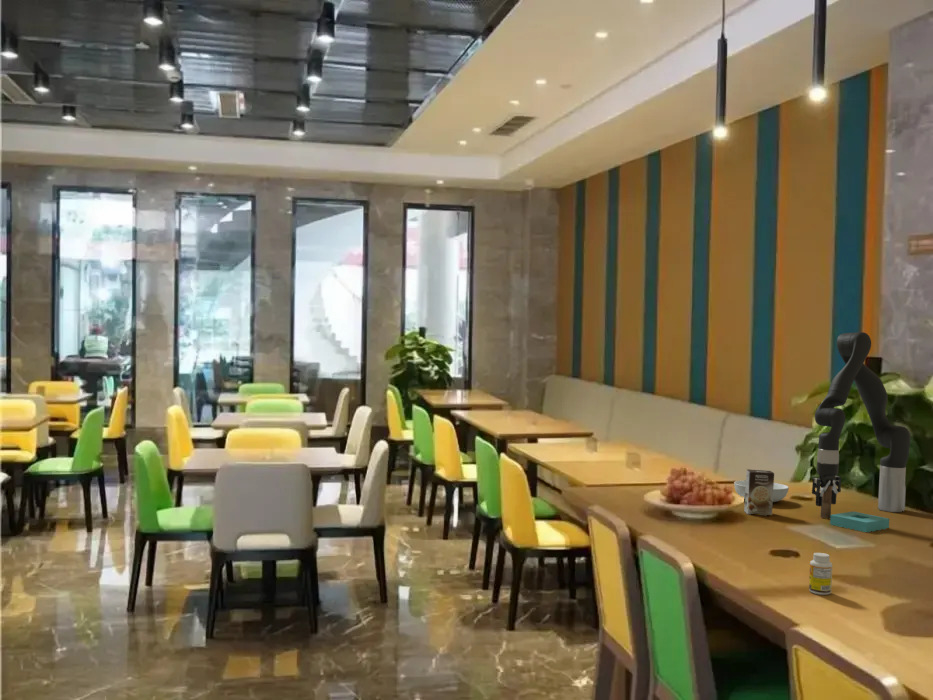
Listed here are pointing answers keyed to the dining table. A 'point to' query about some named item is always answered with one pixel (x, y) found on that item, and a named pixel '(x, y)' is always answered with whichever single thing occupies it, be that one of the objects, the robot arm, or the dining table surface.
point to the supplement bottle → (820, 574)
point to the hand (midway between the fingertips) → (825, 505)
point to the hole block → (859, 521)
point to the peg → (826, 503)
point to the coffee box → (759, 492)
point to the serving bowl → (778, 490)
